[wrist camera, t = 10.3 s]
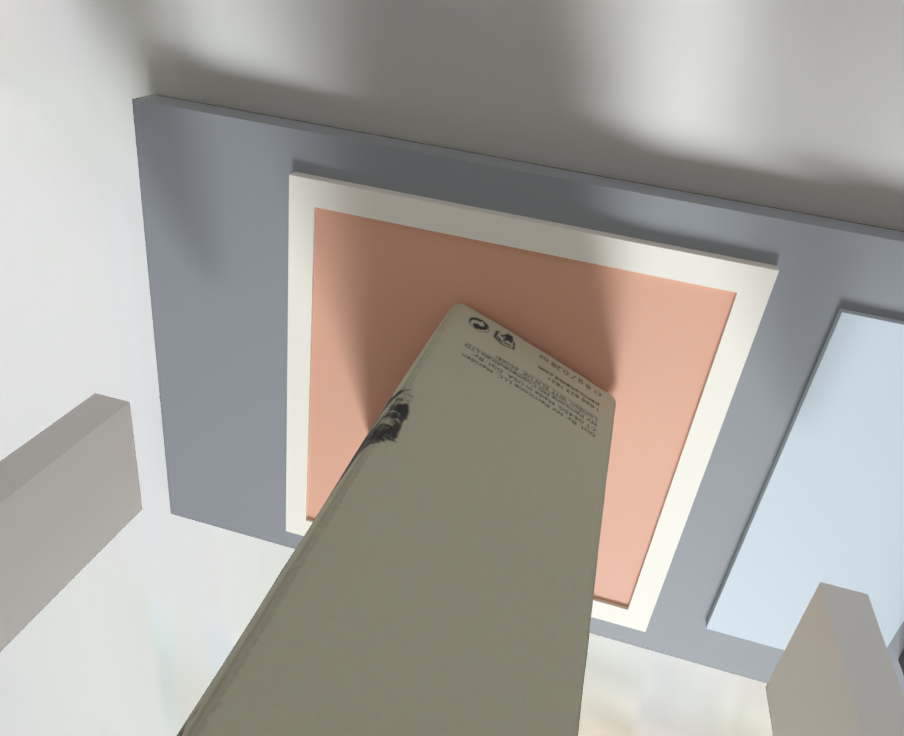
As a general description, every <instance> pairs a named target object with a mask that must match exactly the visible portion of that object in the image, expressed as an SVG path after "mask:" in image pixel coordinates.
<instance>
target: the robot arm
mask: <svg viewBox="0 0 904 736" xmlns="http://www.w3.org/2000/svg"><path fill="white" fill-rule="evenodd" d="M141 510H142V503H141V495H140V487H139V478H138V470H137V461H136V453H135V444H134V436H133V428H132V419H131V411H130V402H127V401H123V400H119V399H115V398H111V397H108V396H104V395H100V394H96V393H95V394H94V395H92V396H91V397H90V398H88V399H87V400H85V401H84V402H83V403H81V404H80V405H78V406H77V407H76V408H74V409H73V410H71V411H70V412H69V413H67V414H66V415H64V416H63V417H62V418H60V419H59V420H57V421H56V422H55V423H53V424H52V425H51V426H49V427H48V428H46V429H45V430H44V431H42V432H41V433H39V434H38V435H37V436H35V437H34V438H32V439H31V440H30V441H28V442H27V443H25V444H24V445H23V446H21V447H20V448H18V449H17V450H16V451H14V452H13V453H12V454H10V455H9V456H7V457H6V458H5V459H3V460H2V461H0V652H1V651H2V650H3V649H4V648H5V647H6V646H7V645H8V644H9V643H10V642H11V641H12V640H13V639H14V638H15V636H16V635H17V634H18V633H19V632H20V631H21V630H22V629H23V628H24V627H25V626H26V625H27V624H28V623H29V622H30V621H31V620H32V619H33V618H34V617H35V616H36V615H37V614H38V613H39V612H40V611H41V610H42V609H43V608H44V607H45V606H46V605H47V604H48V603H49V602H50V601H51V600H52V599H53V598H54V597H55V596H56V595H57V594H58V593H59V592H60V591H61V590H62V589H63V588H64V587H65V586H66V585H67V584H68V583H69V582H70V581H71V580H72V579H73V578H74V577H75V576H76V575H77V574H78V573H79V572H80V571H81V570H82V569H83V568H84V567H85V566H86V565H87V564H88V563H89V562H90V561H91V560H92V559H93V558H94V557H95V556H96V555H97V554H98V553H99V552H100V551H101V550H102V549H103V548H104V547H105V546H106V545H107V544H108V543H109V542H110V541H111V540H112V539H113V538H114V537H115V536H116V535H117V534H118V533H119V532H120V531H121V530H122V529H123V528H124V527H125V526H126V525H127V524H128V523H129V522H130V521H131V520H132V519H133V518H134V517H135V516H136V515H137V514H138V513H139V512H140V511H141ZM766 693H767V699H768V706H769V712H770V718H771V725H772V731H773V736H904V697H903V694H902V691H901V688H900V685H899V682H898V680H897V677H896V674H895V671H894V668H893V665H892V662H891V659H890V657H889V654H888V651H887V648H886V645H885V642H884V639H883V636H882V633H881V631H880V628H879V625H878V622H877V619H876V616H875V613H874V610H873V608H872V605H871V602H870V599H869V596H868V594H865V593H861V592H857V591H853V590H850V589H846V588H842V587H838V586H834V585H830V584H826V583H823V582H820V583H819V585H818V587H817V589H816V591H815V593H814V595H813V597H812V599H811V601H810V603H809V604H808V606H807V608H806V610H805V612H804V614H803V616H802V618H801V620H800V622H799V624H798V626H797V628H796V630H795V631H794V633H793V635H792V637H791V639H790V641H789V643H788V645H787V647H786V649H785V651H784V653H783V655H782V656H781V658H780V660H779V662H778V664H777V666H776V668H775V670H774V672H773V674H772V676H771V678H770V680H769V682H768V683H767V685H766Z"/></svg>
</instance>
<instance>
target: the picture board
mask: <svg viewBox="0 0 904 736" xmlns="http://www.w3.org/2000/svg"><path fill="white" fill-rule="evenodd" d="M132 102H133V113H134V124H135V134H136V145H137V156H138V166H139V177H140V188H141V199H142V209H143V220H144V231H145V241H146V252H147V263H148V273H149V284H150V295H151V306H152V316H153V327H154V338H155V348H156V359H157V370H158V380H159V391H160V402H161V413H162V423H163V434H164V445H165V455H166V466H167V477H168V487H169V498H170V509H171V514H174V515H178V516H181V517H185V518H188V519H192V520H195V521H199V522H202V523H206V524H209V525H213V526H216V527H220V528H223V529H227V530H230V531H234V532H238V533H241V534H245V535H248V536H252V537H255V538H259V539H262V540H266V541H269V542H273V543H276V544H280V545H283V546H287V547H290V548H294V549H296V548H297V547H298V545H299V543H300V542H301V540H302V539H303V537H304V535H305V534H306V532H307V531H308V529H309V527H310V526H311V524H312V523H313V521H314V519H315V518H316V516H317V515H318V513H319V511H320V510H321V508H322V507H323V505H324V503H325V502H326V500H327V499H328V497H329V496H330V494H331V492H332V491H333V489H334V487H335V486H336V484H337V482H338V481H339V479H340V478H341V476H342V474H343V473H344V471H345V469H346V468H347V466H348V465H349V463H350V461H351V460H352V458H353V457H354V455H355V453H356V452H357V450H358V449H359V447H360V445H361V444H362V442H363V441H364V439H365V437H366V436H367V434H368V433H369V431H370V430H371V428H372V427H373V425H374V424H375V422H376V420H377V419H378V417H379V416H380V414H381V412H382V411H383V409H384V408H385V406H386V405H387V403H388V401H389V400H390V398H391V397H392V395H393V394H394V392H395V391H396V389H397V387H398V386H399V384H400V383H401V381H402V380H403V378H404V377H405V375H406V373H407V372H408V370H409V369H410V367H411V366H412V364H413V363H414V361H415V360H416V358H417V357H418V355H419V354H420V352H421V351H422V349H423V348H424V346H425V345H426V343H427V342H428V340H429V339H430V337H431V336H432V334H433V333H434V332H435V330H436V329H437V327H438V326H439V324H440V323H441V321H442V320H443V318H444V317H445V315H446V314H447V313H448V311H449V310H450V309H451V308H452V306H453V305H455V304H458V303H462V304H464V305H466V306H468V307H470V308H472V309H474V310H475V311H477V312H479V313H481V314H482V315H484V316H486V317H487V318H489V319H491V320H492V321H494V322H496V323H497V324H499V325H501V326H502V327H504V328H506V329H507V330H509V331H511V332H513V333H514V334H516V335H517V336H519V337H520V338H522V339H523V340H525V341H526V342H528V343H530V344H531V345H533V346H535V347H536V348H538V349H540V350H541V351H543V352H545V353H546V354H548V355H550V356H551V357H553V358H554V359H556V360H557V361H559V362H560V363H562V364H563V365H565V366H566V367H568V368H570V369H571V370H573V371H575V372H576V373H578V374H579V375H581V376H583V377H584V378H586V379H587V380H589V381H590V382H591V383H593V384H594V385H596V386H598V387H599V388H601V389H602V390H604V391H605V392H607V393H609V394H610V395H612V396H613V397H614V398H615V400H616V408H615V415H614V423H613V432H612V439H611V448H610V457H609V464H608V472H607V480H606V488H605V499H604V507H603V516H602V524H601V533H600V541H599V550H598V561H597V569H596V578H595V587H594V596H593V605H592V614H591V623H590V632H589V633H592V634H596V635H599V636H603V637H606V638H610V639H613V640H617V641H620V642H624V643H627V644H631V645H634V646H638V647H641V648H645V649H648V650H652V651H655V652H659V653H662V654H666V655H670V656H673V657H677V658H680V659H684V660H687V661H691V662H694V663H698V664H701V665H705V666H708V667H712V668H715V669H719V670H722V671H726V672H729V673H733V674H736V675H740V676H743V677H747V678H750V679H754V680H757V681H761V682H764V683H768V682H769V680H770V678H771V676H772V674H773V672H774V670H775V668H776V666H777V664H778V662H779V660H780V658H781V656H782V655H783V653H784V651H785V649H786V647H787V645H788V643H789V641H790V639H791V637H792V635H793V633H794V631H795V630H796V628H797V626H798V624H799V622H800V620H801V618H802V616H803V614H804V612H805V610H806V608H807V606H808V604H809V603H810V601H811V599H812V597H813V595H814V593H815V591H816V589H817V587H818V585H819V583H820V582H823V583H826V584H830V585H834V586H838V587H842V588H846V589H850V590H853V591H857V592H861V593H865V594H868V596H869V599H870V602H871V605H872V608H873V610H874V613H875V616H876V619H877V622H878V625H879V628H880V631H881V633H882V636H883V639H884V642H885V645H886V648H887V651H888V654H889V657H890V659H891V662H892V665H893V668H894V671H895V674H896V677H897V680H898V682H899V685H900V688H901V691H902V694H903V697H904V232H902V231H896V230H891V229H885V228H880V227H875V226H869V225H864V224H858V223H853V222H847V221H842V220H836V219H831V218H825V217H820V216H814V215H809V214H803V213H798V212H793V211H787V210H782V209H776V208H771V207H765V206H760V205H754V204H749V203H743V202H738V201H732V200H727V199H722V198H716V197H711V196H705V195H700V194H694V193H689V192H683V191H678V190H672V189H667V188H661V187H656V186H650V185H645V184H640V183H634V182H629V181H623V180H618V179H612V178H607V177H601V176H596V175H590V174H585V173H579V172H574V171H569V170H563V169H558V168H552V167H547V166H541V165H536V164H530V163H525V162H519V161H514V160H508V159H503V158H497V157H492V156H487V155H481V154H476V153H470V152H465V151H459V150H454V149H448V148H443V147H437V146H432V145H426V144H421V143H416V142H410V141H405V140H399V139H394V138H388V137H383V136H377V135H372V134H366V133H361V132H355V131H350V130H344V129H339V128H334V127H328V126H323V125H317V124H312V123H306V122H301V121H295V120H290V119H284V118H279V117H273V116H268V115H263V114H257V113H252V112H246V111H241V110H235V109H230V108H224V107H219V106H213V105H208V104H202V103H197V102H191V101H186V100H181V99H175V98H170V97H164V96H159V95H150V96H145V97H140V98H136V99H132Z"/></svg>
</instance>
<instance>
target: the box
mask: <svg viewBox="0 0 904 736" xmlns="http://www.w3.org/2000/svg"><path fill="white" fill-rule="evenodd" d="M615 408H616V400H615V398H614V397H613V396H612V395H610V394H609V393H607V392H605V391H604V390H602V389H601V388H599V387H598V386H596V385H594V384H593V383H591V382H590V381H589V380H587V379H586V378H584V377H583V376H581V375H579V374H578V373H576V372H575V371H573V370H571V369H570V368H568V367H566V366H565V365H563V364H562V363H560V362H559V361H557V360H556V359H554V358H553V357H551V356H550V355H548V354H546V353H545V352H543V351H541V350H540V349H538V348H536V347H535V346H533V345H531V344H530V343H528V342H526V341H525V340H523V339H522V338H520V337H519V336H517V335H516V334H514V333H513V332H511V331H509V330H507V329H506V328H504V327H502V326H501V325H499V324H497V323H496V322H494V321H492V320H491V319H489V318H487V317H486V316H484V315H482V314H481V313H479V312H477V311H475V310H474V309H472V308H470V307H468V306H466V305H464V304H462V303H458V304H455V305H453V306H452V308H451V309H450V310H449V311H448V313H447V314H446V315H445V317H444V318H443V320H442V321H441V323H440V324H439V326H438V327H437V329H436V330H435V332H434V333H433V334H432V336H431V337H430V339H429V340H428V342H427V343H426V345H425V346H424V348H423V349H422V351H421V352H420V354H419V355H418V357H417V358H416V360H415V361H414V363H413V364H412V366H411V367H410V369H409V370H408V372H407V373H406V375H405V377H404V378H403V380H402V381H401V383H400V384H399V386H398V387H397V389H396V391H395V392H394V394H393V395H392V397H391V398H390V400H389V401H388V403H387V405H386V406H385V408H384V409H383V411H382V412H381V414H380V416H379V417H378V419H377V420H376V422H375V424H374V425H373V427H372V428H371V430H370V431H369V433H368V434H367V436H366V437H365V439H364V441H363V442H362V444H361V445H360V447H359V449H358V450H357V452H356V453H355V455H354V457H353V458H352V460H351V461H350V463H349V465H348V466H347V468H346V469H345V471H344V473H343V474H342V476H341V478H340V479H339V481H338V482H337V484H336V486H335V487H334V489H333V491H332V492H331V494H330V496H329V497H328V499H327V500H326V502H325V503H324V505H323V507H322V508H321V510H320V511H319V513H318V515H317V516H316V518H315V519H314V521H313V523H312V524H311V526H310V527H309V529H308V531H307V532H306V534H305V535H304V537H303V539H302V540H301V542H300V543H299V545H298V547H297V548H296V550H295V551H294V553H293V554H292V556H291V557H290V559H289V560H288V562H287V563H286V565H285V567H284V568H283V570H282V571H281V573H280V574H279V576H278V578H277V579H276V581H275V582H274V584H273V586H272V587H271V589H270V591H269V592H268V594H267V595H266V597H265V599H264V600H263V602H262V604H261V605H260V607H259V608H258V610H257V612H256V613H255V615H254V616H253V618H252V619H251V621H250V623H249V624H248V626H247V627H246V629H245V630H244V632H243V634H242V635H241V637H240V638H239V640H238V641H237V643H236V645H235V646H234V648H233V649H232V651H231V652H230V654H229V656H228V657H227V659H226V660H225V662H224V663H223V665H222V667H221V668H220V670H219V671H218V673H217V674H216V676H215V677H214V679H213V680H212V682H211V684H210V685H209V687H208V688H207V690H206V691H205V693H204V694H203V696H202V697H201V699H200V701H199V702H198V704H197V705H196V707H195V708H194V710H193V711H192V713H191V714H190V716H189V718H188V719H187V721H186V722H185V724H184V725H183V727H182V728H181V730H180V731H179V733H178V735H177V736H578V730H579V720H580V710H581V701H582V691H583V683H584V675H585V667H586V659H587V650H588V641H589V632H590V623H591V614H592V605H593V596H594V587H595V578H596V569H597V561H598V550H599V541H600V533H601V524H602V516H603V507H604V499H605V488H606V480H607V472H608V464H609V457H610V448H611V439H612V432H613V423H614V415H615Z"/></svg>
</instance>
